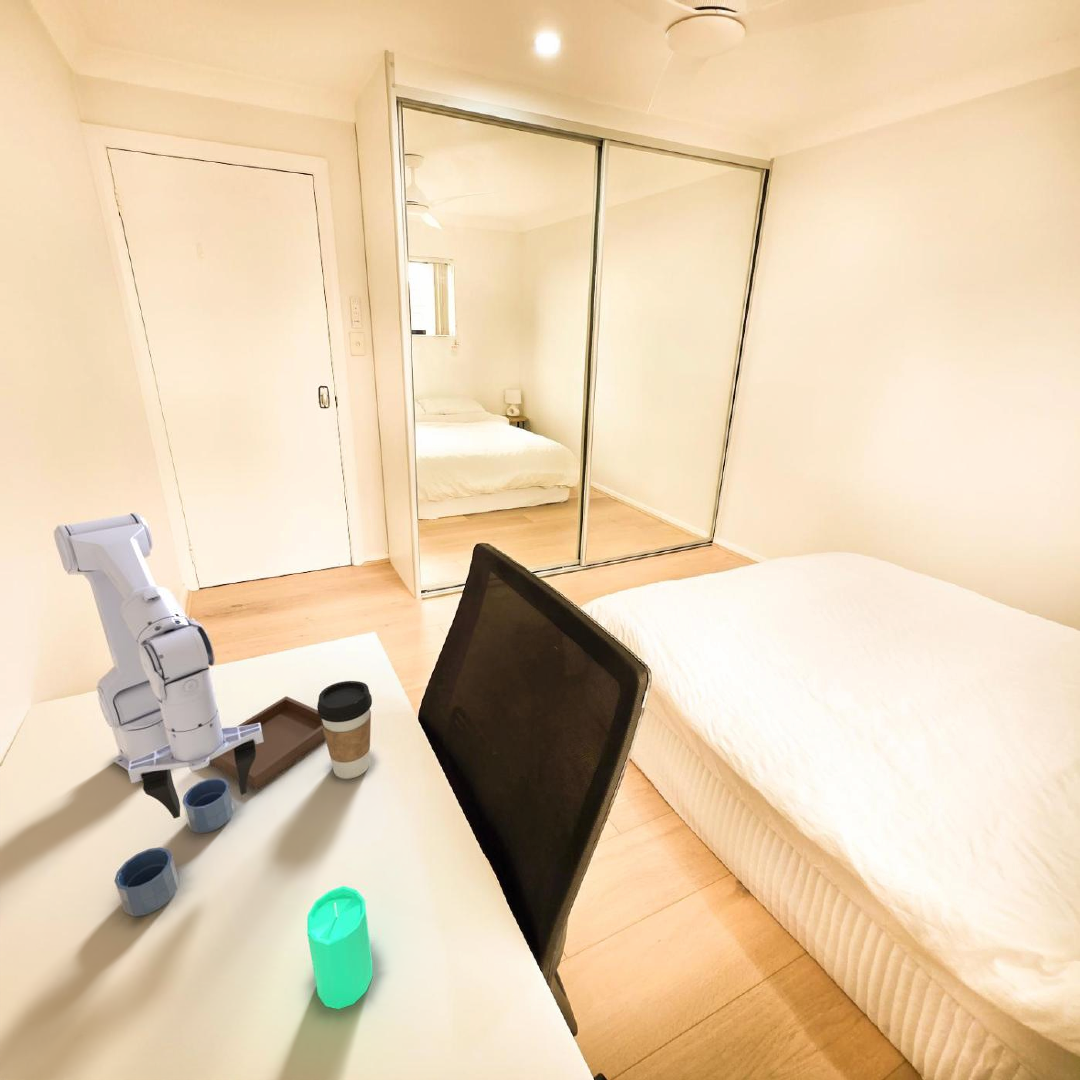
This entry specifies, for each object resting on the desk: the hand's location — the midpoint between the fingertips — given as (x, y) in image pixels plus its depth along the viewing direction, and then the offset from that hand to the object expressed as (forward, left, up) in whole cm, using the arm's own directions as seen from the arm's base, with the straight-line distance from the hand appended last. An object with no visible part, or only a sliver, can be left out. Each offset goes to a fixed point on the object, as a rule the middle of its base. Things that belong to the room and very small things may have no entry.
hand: (211, 800), depth 71 cm
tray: (-13, +18, -9) cm, 24 cm away
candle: (+27, -3, -10) cm, 29 cm away
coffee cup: (+3, +21, -10) cm, 23 cm away
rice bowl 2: (-7, +3, -9) cm, 12 cm away
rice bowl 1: (-2, -8, -9) cm, 13 cm away
